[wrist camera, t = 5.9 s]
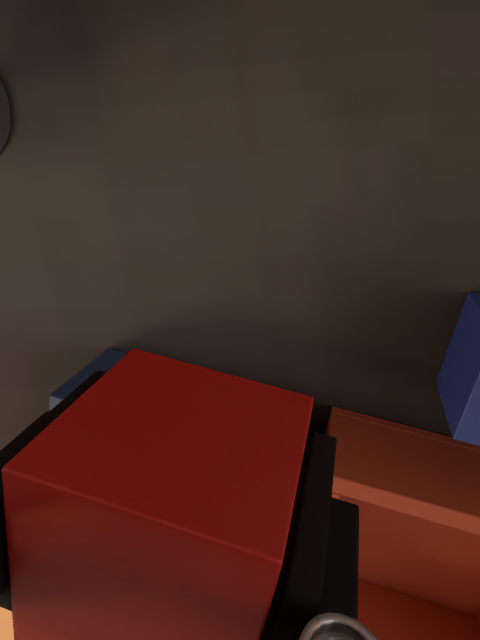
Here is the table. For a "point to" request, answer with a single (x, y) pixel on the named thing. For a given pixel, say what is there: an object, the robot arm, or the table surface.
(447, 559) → the terracotta bin
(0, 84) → the sundae
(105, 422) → the red block
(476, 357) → the blue block
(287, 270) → the table surface
